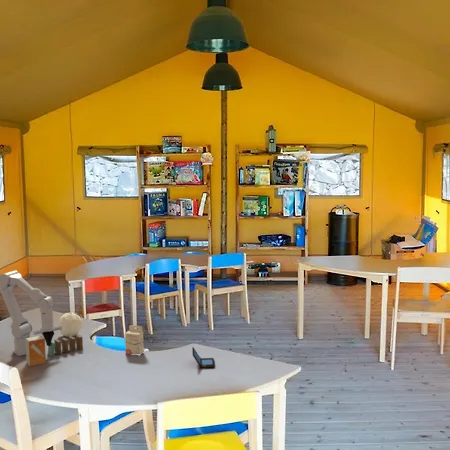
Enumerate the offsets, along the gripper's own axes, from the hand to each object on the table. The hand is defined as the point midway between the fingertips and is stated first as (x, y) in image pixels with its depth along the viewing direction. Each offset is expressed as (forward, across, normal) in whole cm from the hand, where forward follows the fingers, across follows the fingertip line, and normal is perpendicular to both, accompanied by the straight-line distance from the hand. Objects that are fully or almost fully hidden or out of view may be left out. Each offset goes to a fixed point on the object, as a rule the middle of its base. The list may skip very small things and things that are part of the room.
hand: (48, 345), depth 296 cm
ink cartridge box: (+6, +36, -27) cm, 45 cm away
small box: (+6, -9, -7) cm, 13 cm away
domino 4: (+6, +13, 0) cm, 14 cm away
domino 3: (+6, +9, 0) cm, 10 cm away
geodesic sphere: (+6, +22, +25) cm, 34 cm away
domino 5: (+6, +17, 0) cm, 18 cm away
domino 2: (+6, +5, 0) cm, 7 cm away
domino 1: (+5, +1, 0) cm, 5 cm away
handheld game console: (+6, +55, -62) cm, 83 cm away
